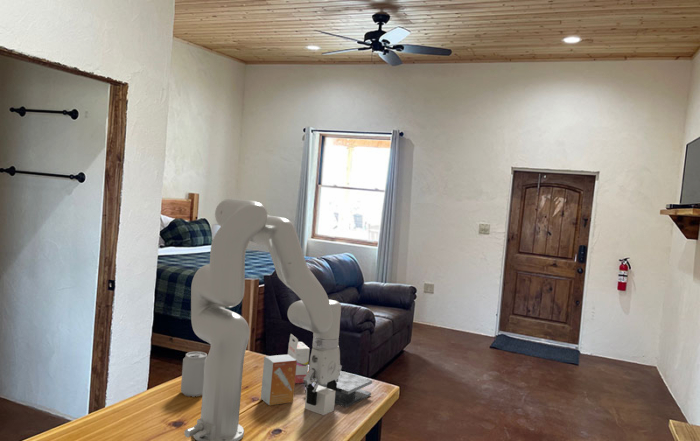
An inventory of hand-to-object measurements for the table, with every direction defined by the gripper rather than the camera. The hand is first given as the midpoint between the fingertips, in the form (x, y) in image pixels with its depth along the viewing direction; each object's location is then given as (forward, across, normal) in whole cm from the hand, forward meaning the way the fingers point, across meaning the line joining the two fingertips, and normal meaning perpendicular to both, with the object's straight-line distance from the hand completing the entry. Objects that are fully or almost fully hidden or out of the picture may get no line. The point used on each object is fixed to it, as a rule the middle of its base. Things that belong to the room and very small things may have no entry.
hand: (321, 399), depth 161 cm
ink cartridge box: (+3, +14, +21) cm, 26 cm away
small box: (+3, -4, +13) cm, 14 cm away
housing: (+3, 0, 0) cm, 3 cm away
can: (+3, -18, +34) cm, 39 cm away
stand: (+3, +14, +3) cm, 14 cm away
